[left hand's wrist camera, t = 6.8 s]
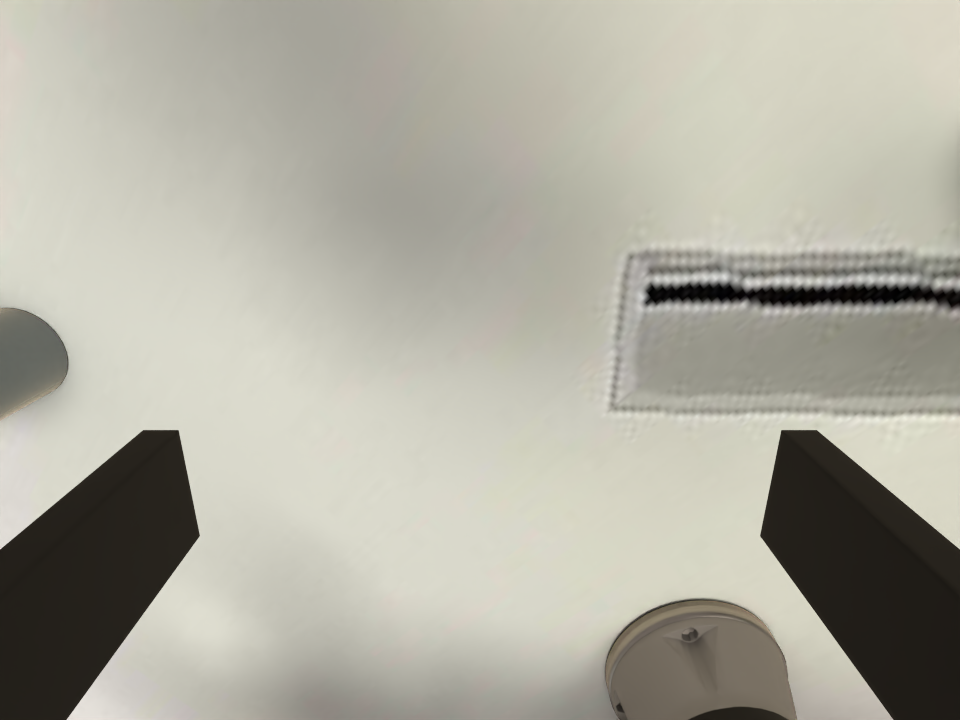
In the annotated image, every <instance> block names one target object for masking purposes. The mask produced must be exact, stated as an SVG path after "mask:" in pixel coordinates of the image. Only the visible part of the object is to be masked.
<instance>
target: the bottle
mask: <svg viewBox="0 0 960 720" xmlns="http://www.w3.org/2000/svg"><path fill="white" fill-rule="evenodd" d="M67 367H68V359H67V354H66V351H65V348H64V345H63V343H62V341H61V340H60V338H59V337H58V335H57V334H56V333H55V331H54V330H53V329H52V328H51V327H50V326H49V325H48V324H46V323H45V322H44V321H43V320H41V319H40V318H38V317H36V316H34V315H33V314H30V313H28V312H25V311H22V310H18V309H12V308H0V421H1V420H3V419H4V418H6V417H8V416H10V415H11V414H13V413H15V412H17V411H18V410H20V409H22V408H24V407H26V406H27V405H29V404H31V403H33V402H34V401H36V400H38V399H40V398H41V397H43V396H45V395H47V394H49V393H50V392H52V391H54V390H55V389H56V388H58V387H59V386H60V385H61V383H62V382H63V380H64V378H65V376H66V373H67Z"/></svg>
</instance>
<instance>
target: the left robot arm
mask: <svg viewBox="0 0 960 720" xmlns="http://www.w3.org/2000/svg"><path fill="white" fill-rule="evenodd" d="M199 536H200V535H199V530H198V525H197V520H196V515H195V510H194V505H193V500H192V495H191V490H190V485H189V480H188V475H187V470H186V465H185V460H184V455H183V450H182V445H181V440H180V435H179V430H143V431H142V432H141V433H139V434H138V435H137V436H136V437H135V438H133V439H132V440H131V441H130V442H129V443H127V444H126V445H125V446H124V447H123V448H121V449H120V450H119V451H118V452H117V453H115V454H114V455H113V456H112V457H111V458H109V459H108V460H107V461H106V462H105V463H103V464H102V465H101V466H100V467H99V468H97V469H96V470H95V471H94V472H93V473H91V474H90V475H89V476H88V477H87V478H85V479H84V480H83V481H82V482H81V483H79V484H78V485H77V486H76V487H75V488H73V489H72V490H71V491H70V492H69V493H67V494H66V495H65V496H64V497H63V498H61V499H60V500H59V501H58V502H57V503H56V504H54V505H53V506H52V507H51V508H50V509H48V510H47V511H46V512H45V513H44V514H42V515H41V516H40V517H39V518H38V519H36V520H35V521H34V522H33V523H32V524H30V525H29V526H28V527H27V528H26V529H24V530H23V531H22V532H21V533H20V534H18V535H17V536H16V537H15V538H14V539H12V540H11V541H10V542H9V543H8V544H6V545H5V546H4V547H3V548H2V549H0V720H67V718H68V717H69V715H70V714H71V713H72V711H73V710H74V709H75V707H76V706H77V704H78V703H79V702H80V700H81V699H82V698H83V696H84V695H85V693H86V692H87V691H88V689H89V688H90V687H91V685H92V684H93V682H94V681H95V680H96V678H97V677H98V675H99V674H100V673H101V671H102V670H103V669H104V667H105V666H106V664H107V663H108V662H109V660H110V659H111V658H112V656H113V655H114V653H115V652H116V651H117V649H118V648H119V647H120V645H121V644H122V642H123V641H124V640H125V638H126V637H127V635H128V634H129V633H130V631H131V630H132V629H133V627H134V626H135V624H136V623H137V622H138V620H139V619H140V618H141V616H142V615H143V613H144V612H145V611H146V609H147V608H148V607H149V605H150V604H151V602H152V601H153V600H154V598H155V597H156V596H157V594H158V593H159V591H160V590H161V589H162V587H163V586H164V584H165V583H166V582H167V580H168V579H169V578H170V576H171V575H172V573H173V572H174V571H175V569H176V568H177V567H178V565H179V564H180V562H181V561H182V560H183V558H184V557H185V556H186V554H187V553H188V551H189V550H190V549H191V547H192V546H193V544H194V543H195V542H196V540H197V539H198V538H199ZM760 536H761V538H762V539H763V540H764V542H765V543H766V544H767V546H768V547H769V549H770V550H771V551H772V553H773V554H774V556H775V557H776V558H777V560H778V561H779V562H780V564H781V565H782V567H783V568H784V569H785V571H786V572H787V573H788V575H789V576H790V578H791V579H792V580H793V582H794V583H795V584H796V586H797V587H798V589H799V590H800V591H801V593H802V594H803V596H804V597H805V598H806V600H807V601H808V602H809V604H810V605H811V607H812V608H813V609H814V611H815V612H816V613H817V615H818V616H819V618H820V619H821V620H822V622H823V623H824V624H825V626H826V627H827V629H828V630H829V631H830V633H831V634H832V635H833V637H834V638H835V640H836V641H837V642H838V644H839V645H840V647H841V648H842V649H843V651H844V652H845V653H846V655H847V656H848V658H849V659H850V660H851V662H852V663H853V664H854V666H855V667H856V669H857V670H858V671H859V673H860V674H861V675H862V677H863V678H864V680H865V681H866V682H867V684H868V685H869V687H870V688H871V689H872V691H873V692H874V693H875V695H876V696H877V698H878V699H879V700H880V702H881V703H882V704H883V706H884V707H885V709H886V710H887V711H888V713H889V714H890V715H891V717H892V718H893V720H960V549H958V548H957V547H956V546H955V545H954V544H952V543H951V542H950V541H949V540H948V539H946V538H945V537H944V536H943V535H942V534H940V533H939V532H938V531H937V530H936V529H934V528H933V527H932V526H931V525H930V524H928V523H927V522H926V521H925V520H924V519H922V518H921V517H920V516H919V515H918V514H916V513H915V512H914V511H913V510H912V509H910V508H909V507H908V506H907V505H906V504H904V503H903V502H902V501H901V500H900V499H899V498H897V497H896V496H895V495H894V494H893V493H891V492H890V491H889V490H888V489H887V488H885V487H884V486H883V485H882V484H881V483H879V482H878V481H877V480H876V479H875V478H873V477H872V476H871V475H870V474H869V473H867V472H866V471H865V470H864V469H863V468H861V467H860V466H859V465H858V464H857V463H855V462H854V461H853V460H852V459H851V458H849V457H848V456H847V455H846V454H845V453H843V452H842V451H841V450H840V449H839V448H837V447H836V446H835V445H834V444H833V443H831V442H830V441H829V440H828V439H827V438H825V437H824V436H823V435H822V434H821V433H819V432H818V431H817V430H781V435H780V440H779V445H778V450H777V455H776V460H775V465H774V470H773V475H772V480H771V485H770V490H769V495H768V500H767V505H766V510H765V515H764V520H763V525H762V530H761V535H760Z"/></svg>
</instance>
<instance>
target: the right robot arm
mask: <svg viewBox="0 0 960 720" xmlns="http://www.w3.org/2000/svg"><path fill="white" fill-rule="evenodd" d="M605 674H606V682H607V687H608V691H609V695H610V700H611V703H612V706H613V709H614V711H615V713H616V715H617V716H618V718H619V719H620V720H797V717H796V712H795V708H794V703H793V698H792V694H791V690H790V686H789V682H788V673H787V666H786V661H785V658H784V655H783V653H782V651H781V649H780V647H779V646H778V644H777V642H776V641H775V639H774V637H773V636H772V634H771V632H770V631H769V629H768V628H767V627H766V626H765V624H764V623H763V622H762V621H761V620H759V619H758V618H757V617H756V616H754V615H753V614H752V613H750V612H748V611H746V610H744V609H742V608H740V607H737V606H734V605H731V604H728V603H723V602H717V601H707V600H697V601H686V602H680V603H676V604H672V605H668V606H665V607H662V608H659V609H657V610H655V611H652V612H650V613H648V614H647V615H645V616H643V617H642V618H640V619H638V620H637V621H636V622H634V623H633V624H632V625H630V626H629V627H628V628H627V629H626V630H625V631H624V632H623V633H622V634H621V635H620V637H619V638H618V639H617V640H616V642H615V644H614V645H613V647H612V649H611V651H610V653H609V656H608V659H607V663H606V672H605Z"/></svg>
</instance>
